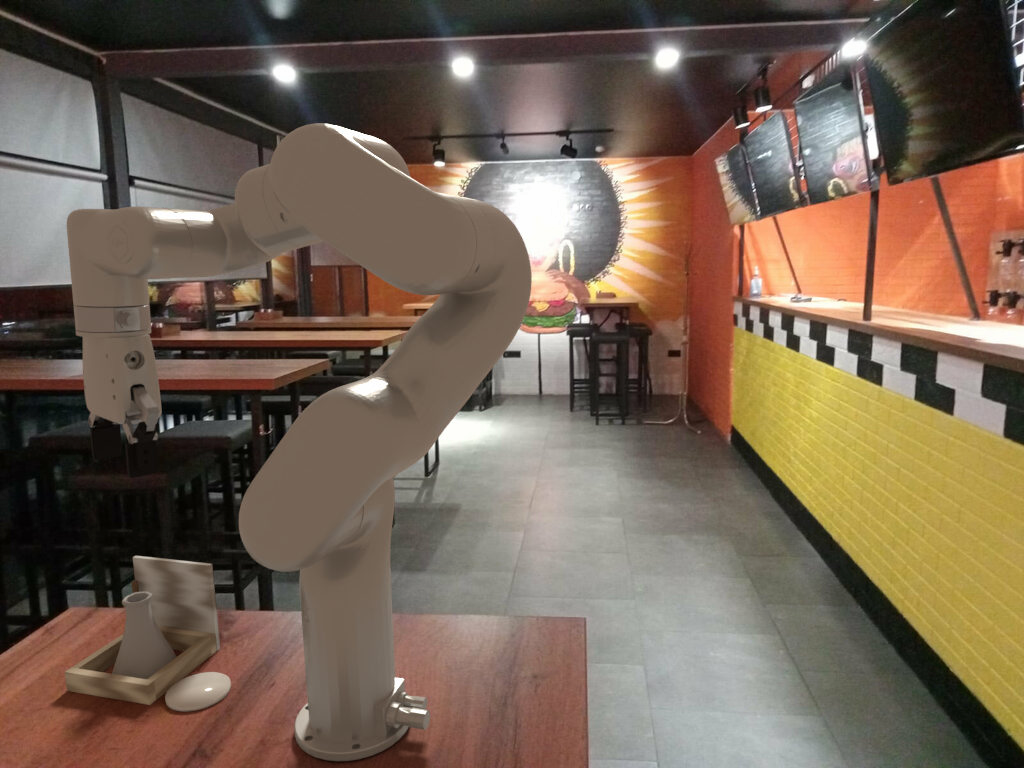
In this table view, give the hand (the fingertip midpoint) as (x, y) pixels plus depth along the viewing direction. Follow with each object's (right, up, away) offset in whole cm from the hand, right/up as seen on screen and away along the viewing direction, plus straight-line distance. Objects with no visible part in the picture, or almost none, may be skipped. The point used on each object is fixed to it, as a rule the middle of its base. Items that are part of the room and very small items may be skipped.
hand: (124, 466), depth 84 cm
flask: (-1, -27, +6) cm, 28 cm away
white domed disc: (+8, -27, +1) cm, 29 cm away
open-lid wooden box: (-1, -27, +6) cm, 27 cm away
